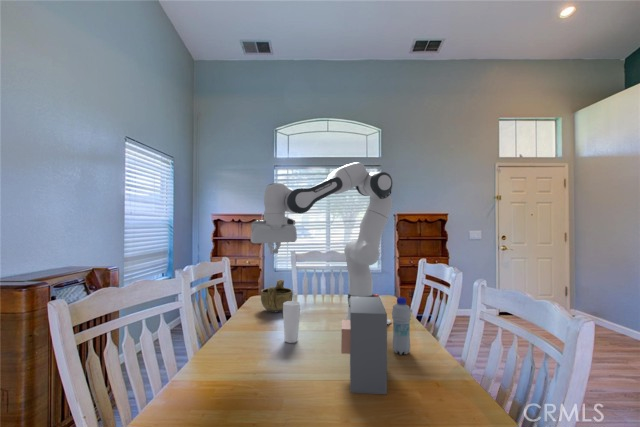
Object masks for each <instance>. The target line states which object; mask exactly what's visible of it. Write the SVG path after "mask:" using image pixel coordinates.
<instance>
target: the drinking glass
mask: <svg viewBox="0 0 640 427" xmlns="http://www.w3.org/2000/svg"><path fill="white" fill-rule="evenodd" d="M300 316H301V304H300V301H299V302H298V301H297V300H296V301H295V300H292V301H288V302H284V303H283V311H282V318H283V331H284V337H283V338H284V342H286V343H288V344H294V343H297V342H298V340H299V329H300V328H299V326H300Z"/></svg>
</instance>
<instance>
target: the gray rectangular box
mask: <svg viewBox="0 0 640 427" xmlns="http://www.w3.org/2000/svg"><path fill="white" fill-rule="evenodd" d="M381 299H382V298H381V297H380V296H379V297H358V296H350V326H351V339H350V354H349V374H350V375H349V380H350V382H349V384H350V385H349V386H350V388H349V389H350V392H349V393H353V394H354V393H355V394H368V395H369V394H370V395H371V394H373V395H374V394H375V395H388V325H387V318H388V313H387V311H386V308H385V307H384V304H383V302H382V300H381Z"/></svg>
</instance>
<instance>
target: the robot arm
mask: <svg viewBox="0 0 640 427" xmlns="http://www.w3.org/2000/svg"><path fill="white" fill-rule="evenodd" d="M354 188H355V190H356V191H357V192H358V194H359V195H362V196H364V197H369V203H368V206H367V208H366V210H365V212H364V215H363V217H362V219H361V222H360V224H359V232H358V237H357V239H354V240H350V241H348V242H347V243H346V244H345V246H344V250H343V253H344V255H345V260H346V269H347V273H348V293H347V303H348V304H347V305H348V306H347V312H346V314H347V315H346V319H345V320H350V296H358V297H380V294H377V293H373V287H374V286H373V285H374V284H373V280H374V279H373V275H372V273H371V272H372V271H371V269H370V266H373V265H375V264H376V263H377V262H378V261H379V258H380V250H379V249H380V245H381V244H380V243H381V238H382V234H383V232H384V229H385V228H386V225H387V223H388V219H389V217H390V215H391V212H392V210H393V209H392V208H393V203H394V200H393V198H392V196H391V194H392V188H393V178H392V176H391V175H390V174H389V173H388V172H385V171H373V172H368V170H367V168H366V167H365V165H364V164H363V163H361V162H358V161H357V162H351V163H349V164H345V165H342V166H341V167H338V168H336V169H334V170H333V171H332V172H330V173H329V174H327V176H326V179H325V180H323V181H322V182H320V183H317V184H315V185H313V186H311V187H307V188H306V187H305V188H304V187H303V188H301V187H299V188H296V189H292V188H290V187H288V186H287V185H286V184H284V182H273V183H269V184H268V185H267V186H266V187H265V190H264V196H263V197H264V198H263V199H264V200H263V201H264V202H263V205H264V214H263V220H254V221H253V222H252V223H251V225H250V230H251V231H250V232H251V233H250V243H252V244H267V247H268V248H269V253H270V254H271V255H275V254H279V249H280V248H281V246H282V244H281V243H296V241H297V240H298V238H297V227H296V226H295V225H296V220H295V219H292V218H290V217H287V216H286V213H290V214H305V213H307V212H308V211H309V210H311V208H312V207H314V205H315V204H316V203H317V202H319V201H321V200H323V199H324V198H327V197H329V196H330V195H334V194H335V195H339V194H341V193H343V194H344V193H345V192H348V191H349V190H351V189H354ZM274 244H275V248H273V245H274ZM387 324H388V325H390V324H392V320H391V319H390V318H388V317H387Z"/></svg>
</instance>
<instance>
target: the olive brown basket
mask: <svg viewBox="0 0 640 427" xmlns="http://www.w3.org/2000/svg"><path fill="white" fill-rule="evenodd" d="M284 283H285V280H284V279H282V278H281V279H278V278H277V281H276V286H268V288H263V289H261V292H260V301H261V304H262V306H263V308H264V309H265V310H266V311H268V312H269V313H270V312H271V313H280V312H283V303H284V302H288V301H293V298H294V296H293V289H291V288H288V287H287V288H286V287H285V286H284Z"/></svg>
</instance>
